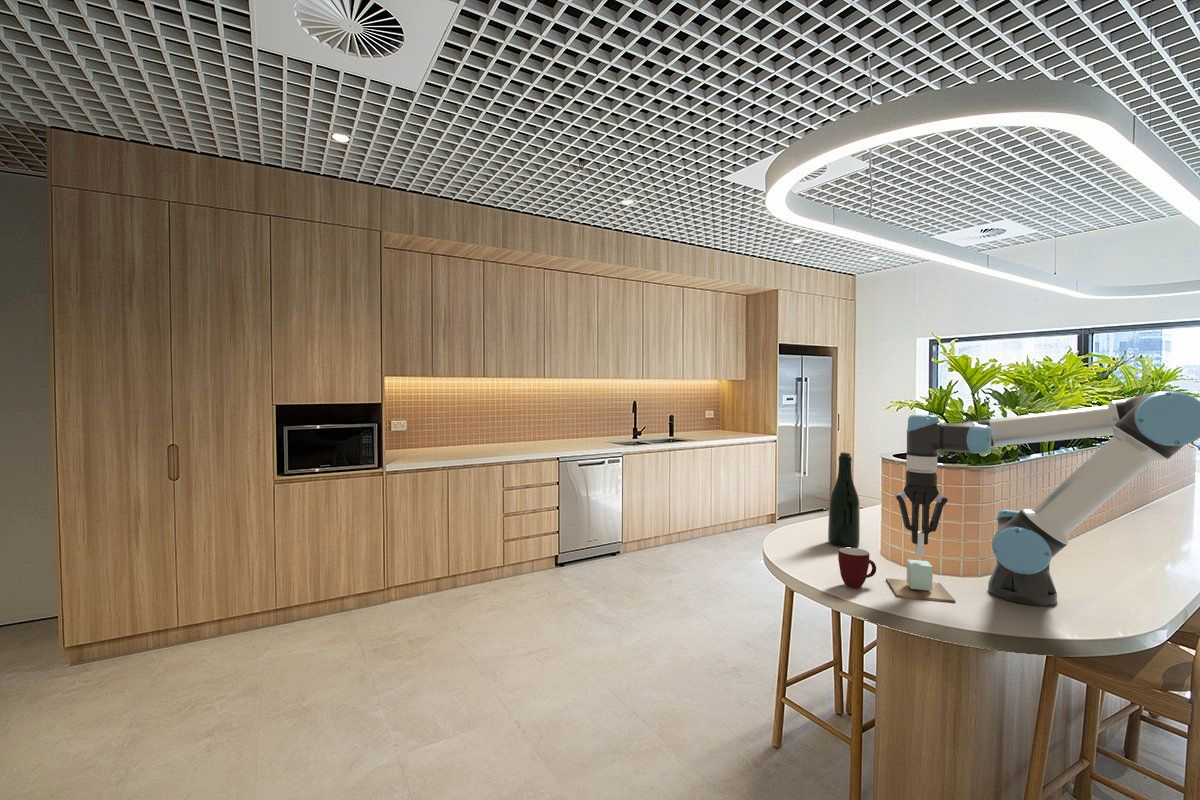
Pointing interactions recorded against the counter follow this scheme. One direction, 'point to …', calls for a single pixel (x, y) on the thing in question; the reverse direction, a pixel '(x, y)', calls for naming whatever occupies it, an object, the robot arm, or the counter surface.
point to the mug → (855, 566)
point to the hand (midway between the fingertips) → (919, 555)
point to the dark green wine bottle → (844, 507)
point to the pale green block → (919, 574)
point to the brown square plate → (919, 591)
